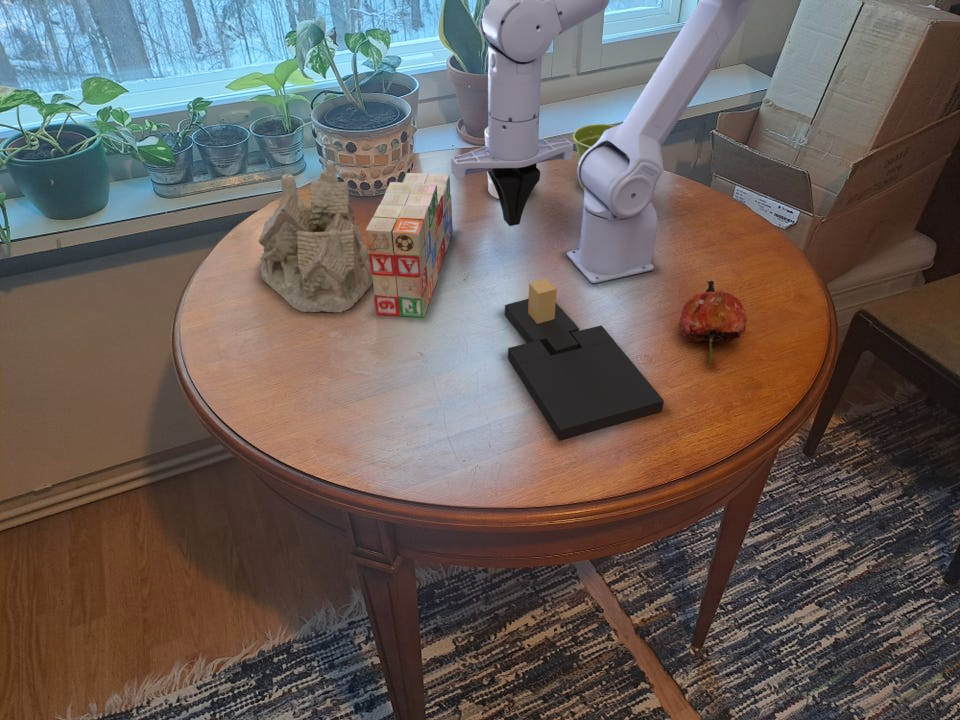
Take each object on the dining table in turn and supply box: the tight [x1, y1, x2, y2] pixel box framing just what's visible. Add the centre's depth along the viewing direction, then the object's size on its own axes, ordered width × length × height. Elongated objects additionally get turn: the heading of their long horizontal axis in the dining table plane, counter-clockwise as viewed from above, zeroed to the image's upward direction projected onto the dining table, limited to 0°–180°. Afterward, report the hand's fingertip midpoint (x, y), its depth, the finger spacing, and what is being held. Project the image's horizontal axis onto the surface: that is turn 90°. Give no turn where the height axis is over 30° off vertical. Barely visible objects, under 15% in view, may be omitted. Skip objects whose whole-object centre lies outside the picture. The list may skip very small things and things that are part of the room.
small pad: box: [504, 278, 580, 356], centre depth 84 cm, size 10×6×6 cm, turn 24°
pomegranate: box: [678, 280, 748, 366], centre depth 81 cm, size 7×7×10 cm
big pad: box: [507, 324, 665, 441], centre depth 78 cm, size 14×12×2 cm
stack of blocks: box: [365, 172, 454, 319], centre depth 92 cm, size 21×6×12 cm, turn 172°
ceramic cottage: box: [257, 160, 373, 314], centre depth 90 cm, size 16×16×15 cm
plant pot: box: [572, 123, 616, 192], centre depth 112 cm, size 9×9×9 cm
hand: (511, 221), depth 88 cm, fingers closed
